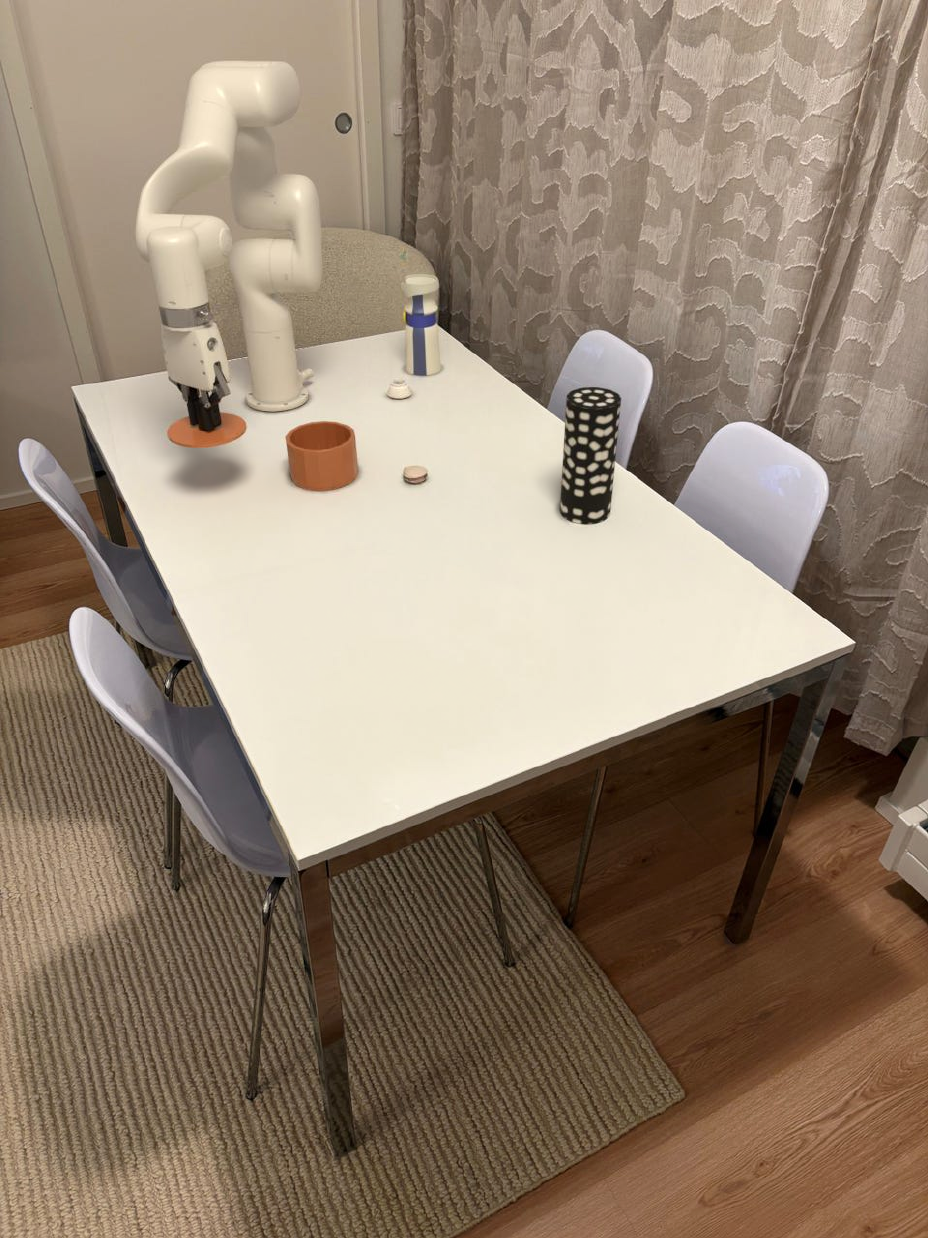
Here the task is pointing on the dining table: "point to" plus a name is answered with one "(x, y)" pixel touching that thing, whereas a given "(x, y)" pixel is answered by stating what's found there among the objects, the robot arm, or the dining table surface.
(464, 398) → the dining table surface
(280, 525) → the dining table surface
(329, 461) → the orange hollow cylinder
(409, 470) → the macaroon
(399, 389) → the white jar
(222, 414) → the lid
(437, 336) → the water bottle
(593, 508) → the white-spotted black cylinder
